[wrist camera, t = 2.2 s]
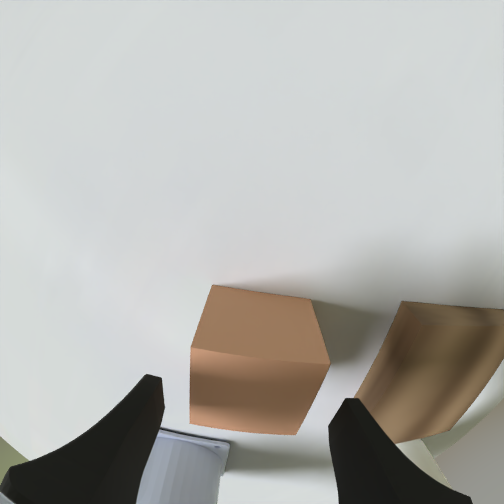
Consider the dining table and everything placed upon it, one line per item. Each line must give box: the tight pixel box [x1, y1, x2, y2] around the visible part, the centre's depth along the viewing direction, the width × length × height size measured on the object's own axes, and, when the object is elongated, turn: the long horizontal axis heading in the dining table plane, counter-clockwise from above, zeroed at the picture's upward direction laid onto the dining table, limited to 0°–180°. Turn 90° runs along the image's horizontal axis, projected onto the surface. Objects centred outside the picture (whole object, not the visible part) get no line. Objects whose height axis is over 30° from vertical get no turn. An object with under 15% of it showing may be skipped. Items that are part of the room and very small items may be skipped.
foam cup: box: [395, 438, 453, 490], centre depth 14 cm, size 10×9×13 cm
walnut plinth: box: [354, 301, 504, 444], centre depth 15 cm, size 12×12×3 cm
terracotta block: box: [190, 285, 331, 435], centre depth 12 cm, size 5×5×5 cm
